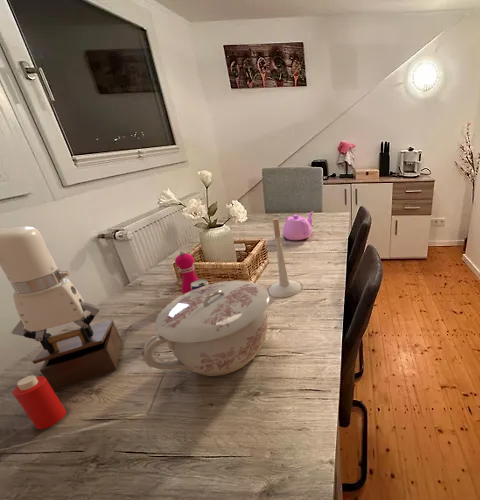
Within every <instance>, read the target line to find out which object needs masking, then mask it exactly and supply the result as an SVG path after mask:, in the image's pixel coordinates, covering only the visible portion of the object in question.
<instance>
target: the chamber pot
mask: <svg viewBox="0 0 480 500" xmlns="http://www.w3.org/2000/svg"><path fill="white" fill-rule="evenodd" d="M208 284H209V285H205V286H203V287H200V288H197V289H194V290H192V291H190V292H188V293H186V294H182V295H180V296H178V297H176V298H175V299H174V300H172V301H171V302H169V303H168V304H167V305H166V306H165V307H164V308H162V310H161V311H160V313H159V314H158V315H157V317H156V320H155V323H154V329H155V330H156V333H157V335H153V336H151V337H149V338H148V340H147V341H146V342H145V343H144V345H143V348H142V352H141V355H142V358H143V362H145V364H147V366H148V367H149V368H153V369H158V370H163V371H165V370H183V371H189V372H194V373H196V374H199V375H201V376H208V377H219V376H225V375H228V374H231V373H234V372H236V371H238V370H240V369H242V368H243V367H245V366H247V365H248V364H249V363H250V362H251V361H253V359H254V358H255V357H256V356H257V355H258V353H259V351H260V349H261V348H262V347H263V345H264V343H265V341H266V338H267V333H268V325H269V317H268V313H267V308H268V306H269V302H270V299H271V298H270V294H269V290H267V289H266V288H265V287H263V286H262V285H261V284H259V283H256V282H253V281H249V280H237V279H236V280H235V279H234V280H224V281H218V282H214V283H213V282H212V283H208ZM165 343H167V348H168V349H169V350H170V351H172V354H173V356H174V357H175V359H176V360H168V361H162V360H157V359H155V358H154V357H153V350H154V349H155V348H156V347H158V346H159V345H161V344H165Z"/></svg>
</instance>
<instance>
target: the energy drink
mask: <svg viewBox="0 0 480 500" xmlns="http://www.w3.org/2000/svg"><path fill="white" fill-rule="evenodd" d="M209 284H210V283H209V282H208V279H205V278H200V279H199V280H196V281H194V282H192V283H191V289H192V290H194V289H197V288H200V287H203V286H205V285H209Z"/></svg>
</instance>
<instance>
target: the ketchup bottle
mask: <svg viewBox="0 0 480 500" xmlns="http://www.w3.org/2000/svg"><path fill="white" fill-rule="evenodd" d="M16 385H17V386H16V387H15V388H14V389H13V390H12V395H13V396H14V398H15V399H16V401H17V402H18V403H19V405H20V406H21V408H22V409H23V411H24V412H25V414H26V416H27V417H28V418H29V419H30V421H31V423H33V425H34V426H35V428H36V430H37V429H38V430H46V429H48V428H50V427H52V426H54V425H56V424H57V423H59V422H60V421H61V420H62V419H63V418H65V416H66V414H67V410H66V409H65V407H64V405H63V404H62V402H61V401H60V399H59V397H58V396H57V394H56V393H55V392H56V391H53V389H52V387H51V386H50V384H49V383H48V381H47V379H46V378H45V377H44V376H43V375H40V376H36V375H33V374H31V375H28V376H25V377H23V378H21V379H19V380H18V381H17V383H16Z"/></svg>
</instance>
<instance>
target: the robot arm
mask: <svg viewBox="0 0 480 500" xmlns="http://www.w3.org/2000/svg"><path fill="white" fill-rule="evenodd" d="M0 267H1V270H2V271H3V272H4V275H5V277H6V278H7V280H8V281H9V283H10V285H11V287H12V289H13V290H14V291H13V294H12V296H13V302H14V305H15V309H16V312H17V314H18V316H19V317H18V318H19V319H20V320H19V321H18V323H17V324H16V325H15V326H14V328H13V329H12V330H11V334H12V335H15V336H20V337H24V338H27V339H32V340H34V341H36V342H39V343H40V344H41V346H42V348H43V349H45V350H48V352H49V354H51V353H53V352H54V351H55V350H54V348H53V345H52V344H50V343H49V342H48V337H50V336H53V335H52V333H50V332H47V330H48V329H51V328H55V327H58V326H62V325H66V324H70V323H74V324H76V325H77V326H78V327H79V328H81V329H80V332H81V334H82V336H83V338H84V340H85V341H86V342H90V340H91V337H92V336H93V331H92V329H91V327H90V326H91V325H90V324H91V323H92V322H93V320H94V318H96V316H97V315H98V313H99V312H100V310H101V307H100V306H99V305H94V304H92V303H88V302H85V300H84V299H83V297H82V295H81V294H80V292H79V291H78V289H77V288H76V286H75V285H74V284H73V282H72V281H71V280H70V279H69V278H67V277H70V272H69V271H68V270H64V271H63V270H60V268H59V267H58V266H57V263H56V262H55V259H54V258H53V256H52V254H51V251H50V250H49V248H48V246H47V244H46V242H45V240H44V237H43V236H42V234H41V232H40V230H38V229H37V228H35V227H32V226H15V227H9V228H0ZM86 311H87V312H89V313H88V314H87V316H86V315H84V312H86Z"/></svg>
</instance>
